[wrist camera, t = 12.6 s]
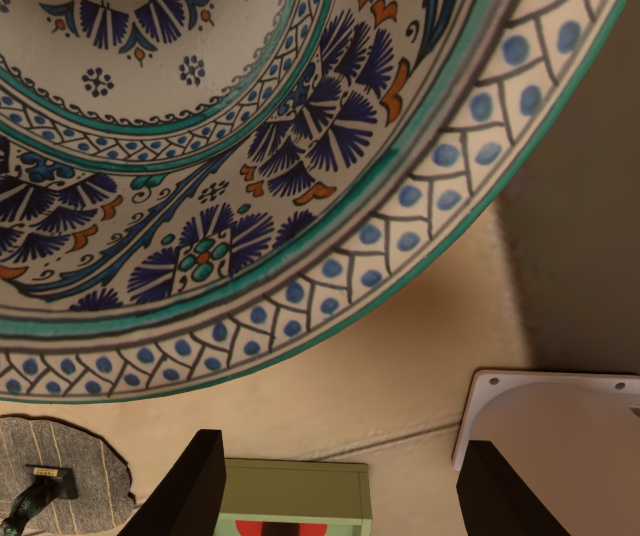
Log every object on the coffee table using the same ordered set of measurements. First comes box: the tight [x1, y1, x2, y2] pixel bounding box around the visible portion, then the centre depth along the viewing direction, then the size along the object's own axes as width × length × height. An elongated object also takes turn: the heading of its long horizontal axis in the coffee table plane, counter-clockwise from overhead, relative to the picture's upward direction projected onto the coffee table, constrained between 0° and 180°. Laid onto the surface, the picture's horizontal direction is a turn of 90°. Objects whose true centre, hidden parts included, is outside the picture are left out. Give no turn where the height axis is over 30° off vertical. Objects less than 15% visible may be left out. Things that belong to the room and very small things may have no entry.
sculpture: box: [0, 417, 134, 536], centre depth 26 cm, size 12×9×8 cm
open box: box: [213, 459, 373, 536], centre depth 25 cm, size 11×10×4 cm
